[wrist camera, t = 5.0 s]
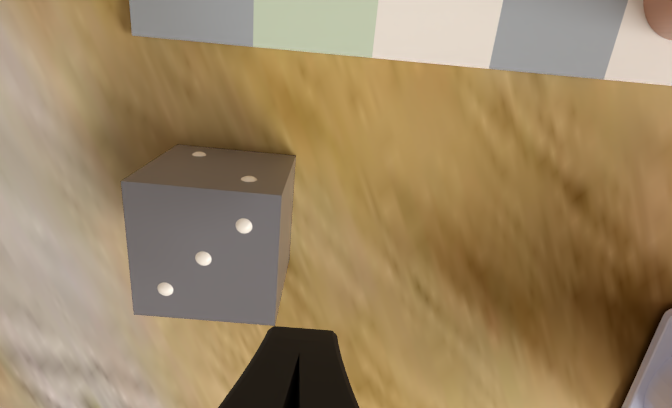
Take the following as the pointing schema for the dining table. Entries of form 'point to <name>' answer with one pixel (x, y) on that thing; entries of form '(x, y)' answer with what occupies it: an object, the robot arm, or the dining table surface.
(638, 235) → the dining table surface
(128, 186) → the die
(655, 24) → the pawn
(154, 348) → the dining table surface
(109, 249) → the dining table surface
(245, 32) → the board
